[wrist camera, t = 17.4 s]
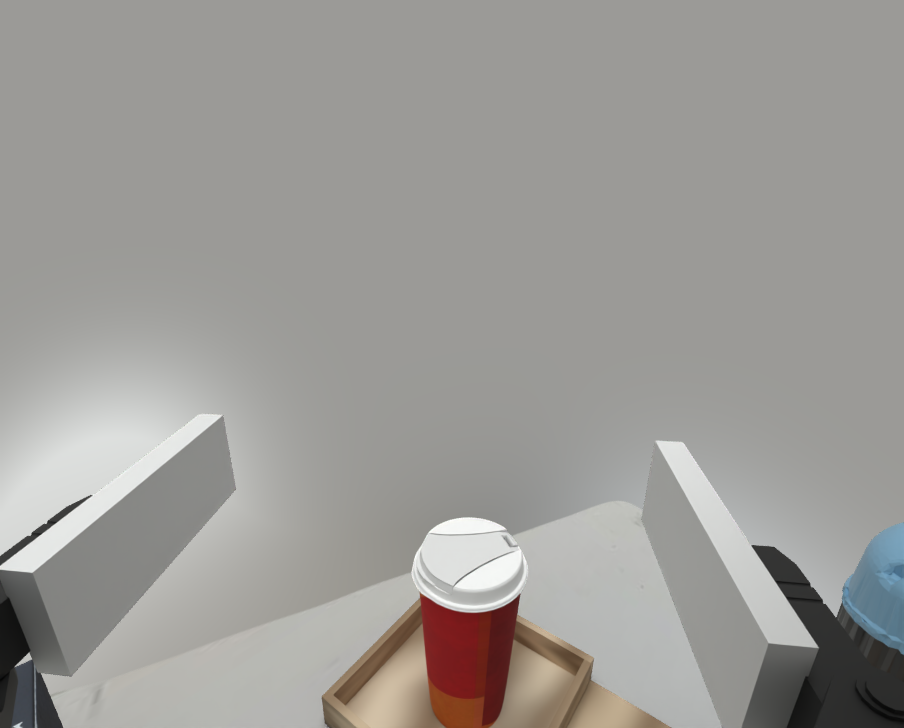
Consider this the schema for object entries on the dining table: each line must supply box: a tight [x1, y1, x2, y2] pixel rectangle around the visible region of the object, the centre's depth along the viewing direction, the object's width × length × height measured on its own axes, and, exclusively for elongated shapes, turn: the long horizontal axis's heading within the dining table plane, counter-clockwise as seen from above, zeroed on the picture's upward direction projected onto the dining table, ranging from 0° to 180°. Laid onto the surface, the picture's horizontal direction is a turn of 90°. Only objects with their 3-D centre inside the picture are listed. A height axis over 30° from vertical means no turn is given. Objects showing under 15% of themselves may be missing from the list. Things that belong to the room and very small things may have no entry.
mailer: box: [322, 598, 671, 728], centre depth 38 cm, size 24×16×3 cm, turn 54°
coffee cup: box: [411, 518, 528, 728], centre depth 37 cm, size 8×8×15 cm
